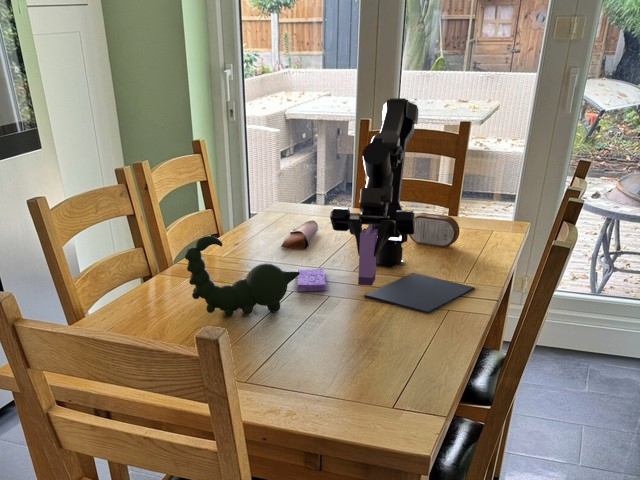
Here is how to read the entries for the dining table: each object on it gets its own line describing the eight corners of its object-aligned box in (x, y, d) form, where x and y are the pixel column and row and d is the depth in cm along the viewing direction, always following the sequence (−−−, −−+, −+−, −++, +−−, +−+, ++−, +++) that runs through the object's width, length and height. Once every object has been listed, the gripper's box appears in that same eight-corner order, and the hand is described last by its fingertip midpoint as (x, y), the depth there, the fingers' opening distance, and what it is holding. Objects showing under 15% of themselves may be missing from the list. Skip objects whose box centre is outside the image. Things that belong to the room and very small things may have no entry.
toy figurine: (196, 328, 164) (304, 315, 163) (180, 245, 153) (296, 230, 152) (198, 313, 171) (302, 300, 170) (183, 233, 161) (294, 219, 160)
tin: (458, 247, 205) (461, 216, 200) (454, 249, 203) (457, 219, 198) (409, 240, 212) (411, 210, 207) (405, 242, 210) (407, 213, 205)
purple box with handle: (361, 278, 167) (364, 223, 160) (375, 279, 166) (378, 224, 159) (357, 285, 163) (360, 229, 156) (371, 286, 163) (374, 229, 156)
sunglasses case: (291, 230, 222) (301, 211, 218) (310, 242, 223) (321, 224, 219) (279, 247, 207) (291, 227, 203) (300, 260, 208) (312, 240, 204)
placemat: (364, 296, 173) (364, 294, 173) (412, 274, 186) (413, 272, 186) (428, 313, 163) (428, 311, 163) (474, 289, 176) (475, 287, 176)
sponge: (297, 291, 177) (297, 284, 176) (297, 275, 188) (297, 268, 187) (325, 291, 177) (325, 284, 176) (324, 274, 187) (324, 267, 186)
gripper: (332, 169, 157) (320, 234, 155) (417, 172, 153) (407, 239, 150) (339, 198, 168) (328, 259, 165) (419, 201, 163) (409, 264, 161)
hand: (366, 255), depth 160 cm, fingers closed on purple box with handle, 3 cm apart
